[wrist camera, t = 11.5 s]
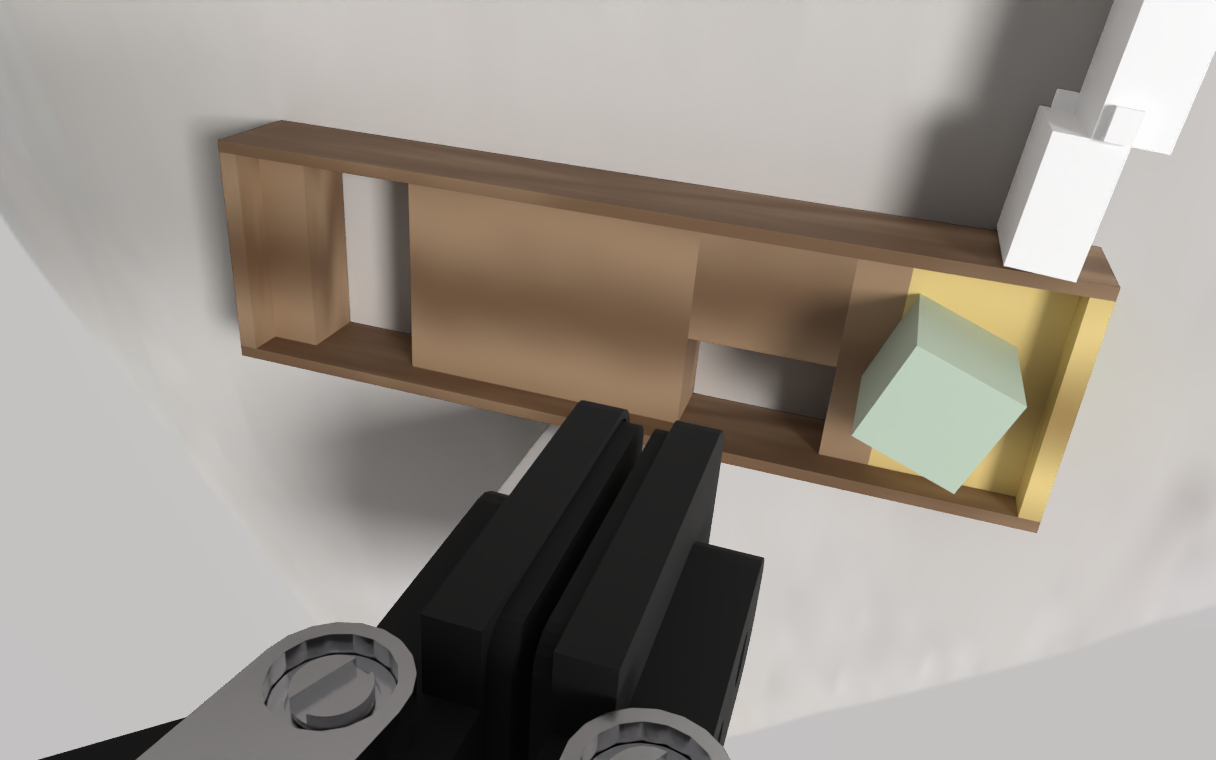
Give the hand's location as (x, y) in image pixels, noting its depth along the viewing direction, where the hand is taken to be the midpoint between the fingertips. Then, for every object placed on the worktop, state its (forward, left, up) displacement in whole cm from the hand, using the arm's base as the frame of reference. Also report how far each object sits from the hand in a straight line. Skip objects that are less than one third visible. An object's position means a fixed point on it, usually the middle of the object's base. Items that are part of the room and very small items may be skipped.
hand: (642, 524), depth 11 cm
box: (+9, -7, -29) cm, 31 cm away
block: (+9, +5, -26) cm, 28 cm away
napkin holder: (-1, +8, -30) cm, 31 cm away
